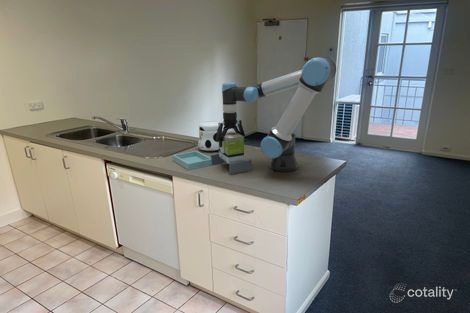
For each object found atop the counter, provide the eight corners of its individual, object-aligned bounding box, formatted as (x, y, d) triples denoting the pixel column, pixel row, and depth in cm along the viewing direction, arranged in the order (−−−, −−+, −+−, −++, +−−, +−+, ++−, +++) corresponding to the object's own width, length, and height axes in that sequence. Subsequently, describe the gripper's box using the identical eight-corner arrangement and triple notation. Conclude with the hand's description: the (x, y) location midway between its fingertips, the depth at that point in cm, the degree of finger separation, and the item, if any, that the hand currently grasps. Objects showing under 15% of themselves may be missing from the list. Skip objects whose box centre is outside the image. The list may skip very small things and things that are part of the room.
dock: (251, 169, 180) (251, 159, 178) (230, 175, 172) (230, 164, 171) (230, 160, 197) (230, 150, 195) (210, 164, 189) (210, 154, 187)
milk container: (193, 149, 221) (192, 123, 216) (214, 144, 231) (214, 120, 226) (207, 154, 208) (206, 127, 202) (229, 150, 218) (228, 123, 212)
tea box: (218, 157, 188) (217, 132, 183) (234, 154, 191) (233, 130, 187) (228, 164, 174) (227, 137, 170) (244, 161, 178) (244, 135, 174)
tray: (213, 164, 189) (213, 158, 188) (188, 170, 180) (188, 164, 179) (196, 156, 206) (196, 150, 204) (173, 160, 197) (173, 155, 196)
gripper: (243, 108, 184) (243, 146, 190) (207, 113, 172) (209, 152, 178) (251, 110, 178) (251, 148, 184) (214, 115, 166) (216, 156, 172)
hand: (231, 150), depth 181 cm, fingers closed on tea box, 11 cm apart
